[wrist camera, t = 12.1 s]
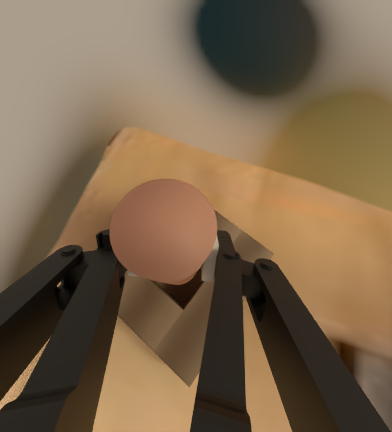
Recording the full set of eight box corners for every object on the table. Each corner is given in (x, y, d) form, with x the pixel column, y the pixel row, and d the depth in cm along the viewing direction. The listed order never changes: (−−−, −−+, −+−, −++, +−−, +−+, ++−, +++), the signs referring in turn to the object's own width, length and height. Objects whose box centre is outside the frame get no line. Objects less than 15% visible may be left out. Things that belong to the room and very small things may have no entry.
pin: (205, 261, 19) (237, 218, 7) (180, 293, 18) (168, 307, 6) (176, 238, 20) (161, 162, 8) (150, 267, 19) (85, 231, 7)
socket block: (262, 257, 22) (273, 253, 19) (189, 371, 18) (189, 387, 15) (174, 191, 25) (173, 179, 22) (92, 276, 20) (77, 274, 18)
